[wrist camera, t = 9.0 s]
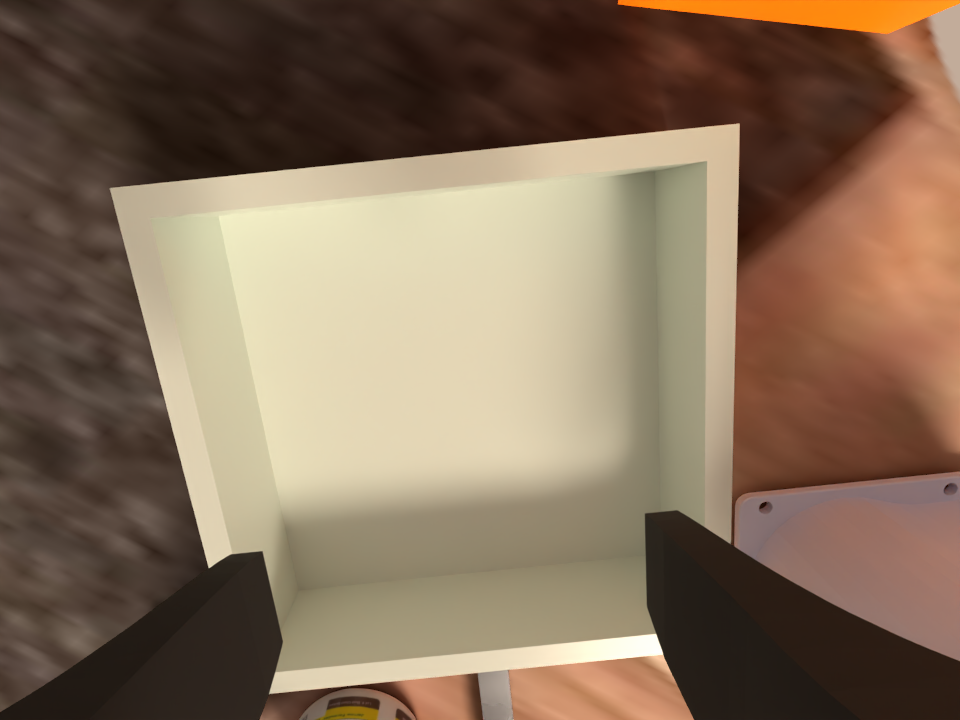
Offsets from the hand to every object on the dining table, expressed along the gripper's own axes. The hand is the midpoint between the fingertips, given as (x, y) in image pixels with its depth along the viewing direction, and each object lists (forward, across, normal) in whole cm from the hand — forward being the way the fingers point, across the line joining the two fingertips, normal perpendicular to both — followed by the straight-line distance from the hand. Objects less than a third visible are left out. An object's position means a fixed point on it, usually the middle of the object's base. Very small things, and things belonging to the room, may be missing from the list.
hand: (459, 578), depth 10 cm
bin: (+10, 0, 0) cm, 10 cm away
